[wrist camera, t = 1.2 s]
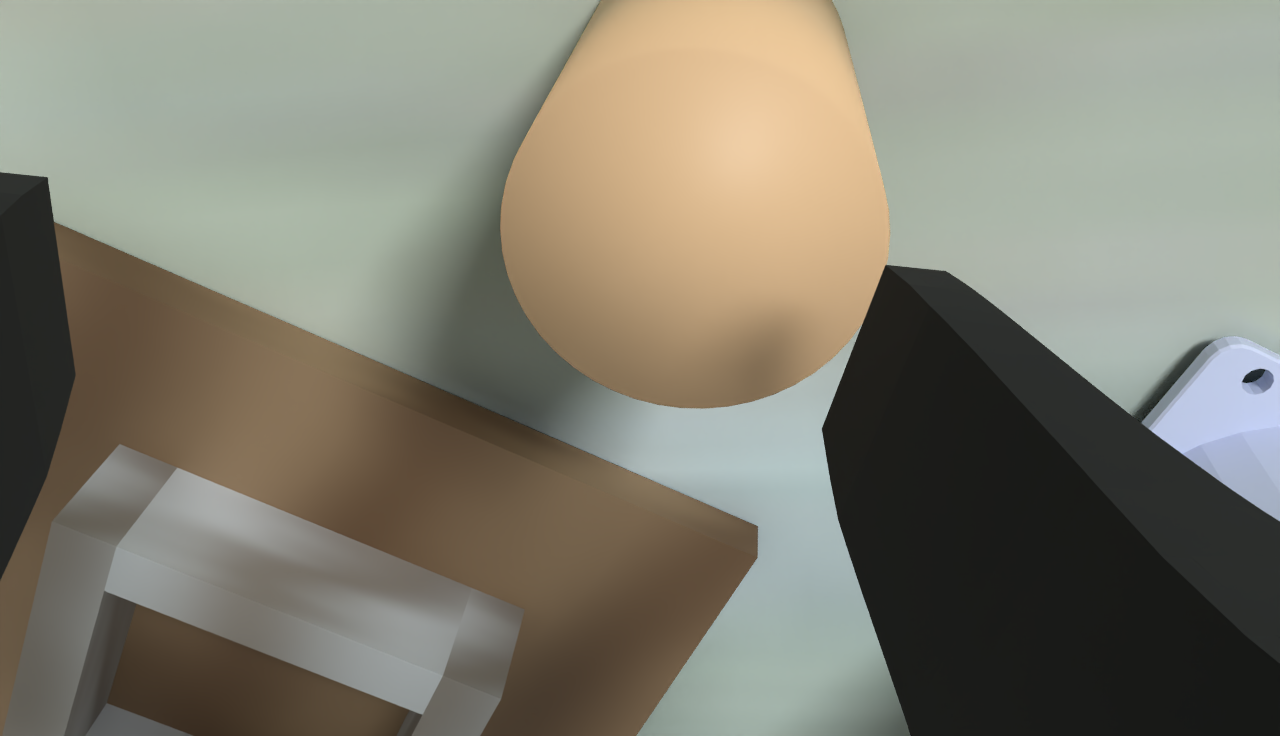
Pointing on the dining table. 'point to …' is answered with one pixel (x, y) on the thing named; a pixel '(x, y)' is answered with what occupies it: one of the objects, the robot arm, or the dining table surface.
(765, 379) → the tan rounded cone
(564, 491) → the sleeve holder
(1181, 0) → the dining table surface
